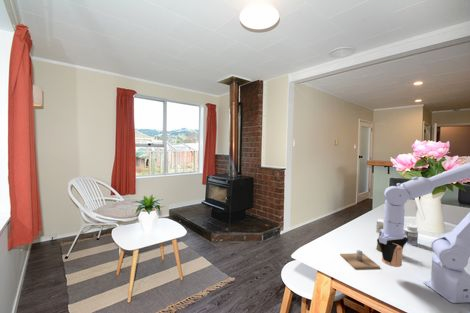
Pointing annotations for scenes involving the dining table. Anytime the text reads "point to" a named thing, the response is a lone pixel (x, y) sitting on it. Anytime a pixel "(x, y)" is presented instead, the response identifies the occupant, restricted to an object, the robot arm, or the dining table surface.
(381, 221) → the white beige cube
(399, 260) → the wooden slatted pot
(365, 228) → the dining table surface
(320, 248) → the dining table surface
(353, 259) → the plate
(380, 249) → the olive flared column
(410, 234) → the pill bottle
